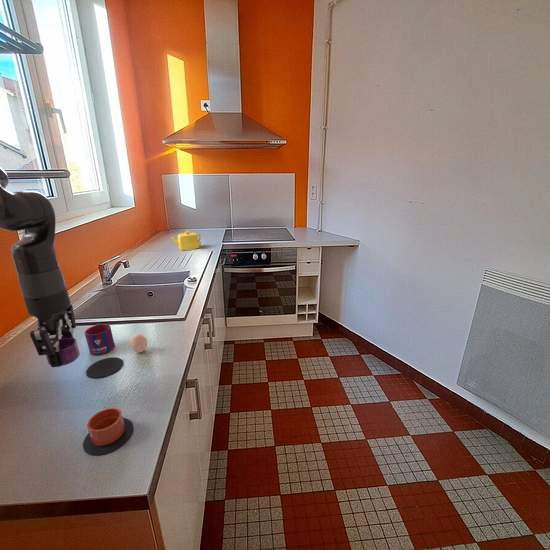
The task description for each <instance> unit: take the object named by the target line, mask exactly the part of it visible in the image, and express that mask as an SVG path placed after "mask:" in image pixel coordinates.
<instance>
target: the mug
mask: <svg viewBox="0 0 550 550" xmlns="http://www.w3.org/2000/svg"><path fill="white" fill-rule="evenodd" d="M84 335H85V340H86V344H87V348H88V351H89V354H90V355H92V356H101V355H105V354H108V353H111V351H113V350H114V349H115V347H116V345H115V341H114V337H113V331H112V328H111V325H110V324H108V323H100V322H99V323H96V325H95V324H94V325H92V326H90V327H88V328H87V329H85V330H84Z"/></svg>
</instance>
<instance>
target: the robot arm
mask: <svg viewBox="0 0 550 550" xmlns="http://www.w3.org/2000/svg"><path fill="white" fill-rule="evenodd" d="M9 182H10V181H9V176H8V174H7V173H6V171H5V170H4V169H3V168H2V167H0V230H4V231H7V232H20V231H23V234H22V238H21V239H20V240H19V241H17V242H16V243H14V244H12V245H11V247H10V255H11V258H12V260H13V264H14V267H15V271H16V273H17V279H18V285H19V288H20V291H21V295H22V297H23V301H24V305H25V307H26V310H27V313H28V315H29V316H31V317H34V318H36V319H37V327H38V328H37V329H36V330H31V331H30V332H29V335H30V338H31V341H32V343H33V345H34V347H35V350H36V352H37V355H38V356H46V355H48V358H49V361H50V364H49V366H50V367H51V368H59V367H63V366H62V365H63V359H62V356H61V352H60V350H59V341H60V340H61V339H62V338H69V337H70V338H74V332H75V331H74V330H75V329H76V328H77V322H76V317H75V312H74V308H73V304H72V303H71V299H70V295H69V291H68V288H67V284H66V281H65V276H64V274H63V271H62V269H61V266H60V263H59V259H58V256H57V251H56V249H55V248H56V247H55V243H56V212H55V208H54V207H53V204H52V203H51V201H50V200H49V199H48V197H47V196H46V195H44V194H43V193H41V192H39V191H36V190H22V191H21V190H20V191H11V192H10V191H7V190H6V188H7V187H8V185H9ZM51 336H53V337H51ZM52 342H54V347H53V345H52Z"/></svg>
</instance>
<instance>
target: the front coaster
mask: <svg viewBox="0 0 550 550" xmlns="http://www.w3.org/2000/svg"><path fill="white" fill-rule="evenodd" d="M123 420H124V424H125V430H124V433H123V434H122V435H121V436H120V438H118V439H117V440H116V441H114V442H113V443H111V444H108V445H104V446H97V445H94V444H93V443H92V441H91V438H90V434H89V432H88V433H87V434H86V436H85V438H84V439H83V442H82V448H83V450H84V452H85V453H86V454H88V455H89V456H95V457H98V456H104V455H108V454H110V453H112V452H115V451H117V450H119V449H120V448H121V447H122V446H124V445H125V444H126V443H127V442H128V441H129V440H130V438H131V437H132V435H133V433H134V424H133V421H131V419H129V418H126V417H123Z"/></svg>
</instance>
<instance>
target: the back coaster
mask: <svg viewBox="0 0 550 550" xmlns="http://www.w3.org/2000/svg"><path fill="white" fill-rule="evenodd" d="M123 365H124V361H123V359H122V358H120V357H117V356H116V357H115V356H112V357H106V358H102V359H100V360H96V361H95V362H93V363H92V364H90V365H89V366H88V367H87V369H86V370H85V374H86V376H87V377H88V378H91V379H102V378H103V379H104V378H106V377H109V376H111V375H113V374H115V373H117V372H119V370H121V369H122V367H123Z"/></svg>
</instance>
